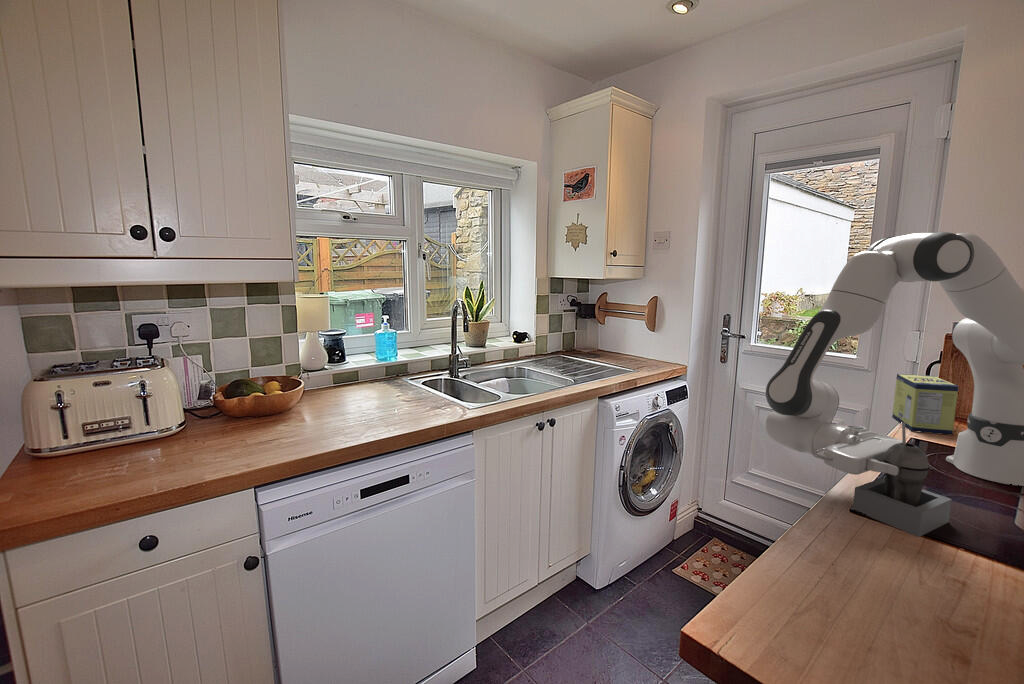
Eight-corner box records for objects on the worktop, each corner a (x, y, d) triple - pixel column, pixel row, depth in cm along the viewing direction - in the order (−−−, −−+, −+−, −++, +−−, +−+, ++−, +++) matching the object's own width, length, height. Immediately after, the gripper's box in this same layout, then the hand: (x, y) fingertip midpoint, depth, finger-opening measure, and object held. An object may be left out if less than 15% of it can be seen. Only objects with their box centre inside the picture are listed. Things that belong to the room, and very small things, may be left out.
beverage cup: (931, 527, 91) (944, 430, 88) (889, 523, 92) (900, 428, 89) (908, 508, 98) (919, 418, 95) (869, 505, 99) (879, 416, 96)
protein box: (929, 420, 154) (934, 375, 152) (953, 435, 140) (960, 386, 138) (890, 417, 158) (895, 373, 156) (910, 431, 144) (916, 383, 141)
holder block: (882, 497, 102) (884, 476, 102) (948, 522, 92) (951, 499, 91) (852, 509, 98) (854, 487, 97) (918, 537, 87) (921, 512, 87)
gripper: (810, 439, 100) (883, 462, 88) (863, 424, 109) (937, 443, 96) (807, 466, 101) (880, 493, 88) (861, 449, 110) (933, 471, 97)
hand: (910, 467), depth 92 cm, fingers closed on beverage cup, 7 cm apart
